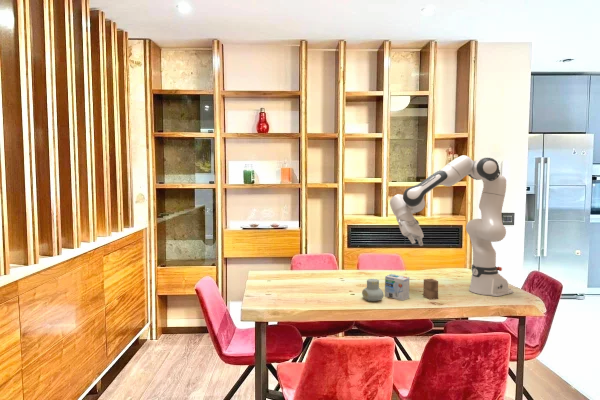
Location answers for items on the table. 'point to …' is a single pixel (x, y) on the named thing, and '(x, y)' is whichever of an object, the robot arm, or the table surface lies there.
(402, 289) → the light bulb box
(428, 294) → the walnut block
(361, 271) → the table surface
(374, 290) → the air freshener
